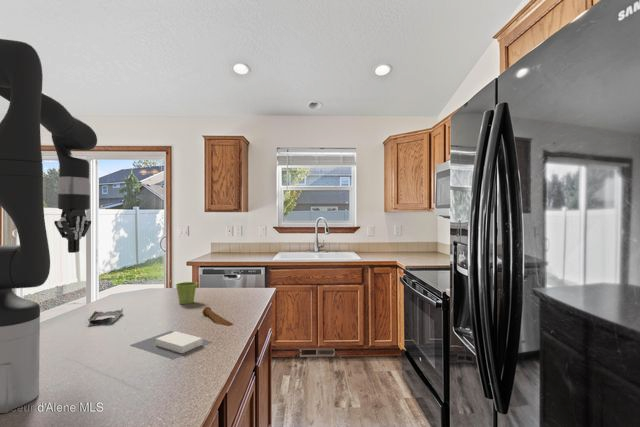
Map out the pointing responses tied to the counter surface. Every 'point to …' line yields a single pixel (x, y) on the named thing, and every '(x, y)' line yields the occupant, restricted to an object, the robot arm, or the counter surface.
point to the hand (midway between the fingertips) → (73, 252)
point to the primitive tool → (216, 317)
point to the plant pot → (186, 292)
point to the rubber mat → (151, 347)
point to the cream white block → (179, 342)
